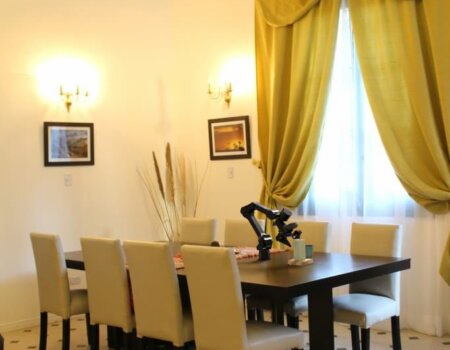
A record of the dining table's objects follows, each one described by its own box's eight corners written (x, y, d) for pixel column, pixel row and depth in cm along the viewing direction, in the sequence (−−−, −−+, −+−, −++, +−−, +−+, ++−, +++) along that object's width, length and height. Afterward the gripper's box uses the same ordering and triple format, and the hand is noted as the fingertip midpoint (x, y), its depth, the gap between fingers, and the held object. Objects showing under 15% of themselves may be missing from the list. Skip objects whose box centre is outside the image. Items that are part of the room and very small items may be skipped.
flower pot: (313, 261, 384) (313, 246, 384) (299, 261, 386) (298, 246, 386) (314, 259, 393) (313, 244, 393) (300, 259, 395) (299, 244, 395)
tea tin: (293, 259, 376) (292, 239, 376) (300, 258, 379) (299, 238, 379) (299, 260, 371) (298, 240, 371) (305, 259, 374) (305, 239, 374)
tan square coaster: (287, 265, 374) (287, 260, 374) (297, 262, 383) (297, 257, 383) (304, 266, 367) (304, 261, 367) (313, 263, 376) (313, 258, 376)
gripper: (278, 219, 375) (292, 238, 367) (299, 216, 387) (313, 235, 379) (269, 231, 381) (282, 251, 373) (290, 228, 393) (303, 247, 385)
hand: (296, 246), depth 377 cm, fingers open, 9 cm apart
